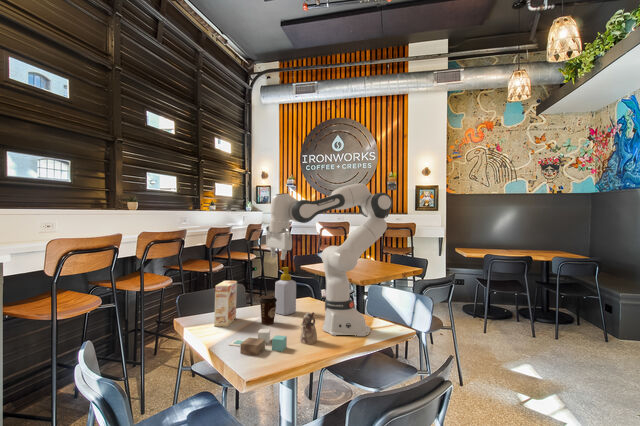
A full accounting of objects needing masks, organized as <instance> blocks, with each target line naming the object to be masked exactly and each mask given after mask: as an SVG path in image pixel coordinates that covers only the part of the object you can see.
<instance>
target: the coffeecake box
mask: <svg viewBox="0 0 640 426" xmlns="http://www.w3.org/2000/svg"><path fill="white" fill-rule="evenodd" d="M214 286H215V287H214V289H215V291H214V316H213V317H214V320H213V322H214V323H213V326H214V327H221V326H223V328H224V327H226V328H228V327H229V326H230V325H231V324H233V322H234V321H235V320H236V319H237V294H238V293H237V292H238V281H237V280H222V282H219V283H218V284H216V285H214ZM235 318H236V319H235ZM234 319H235V320H234Z"/></svg>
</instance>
